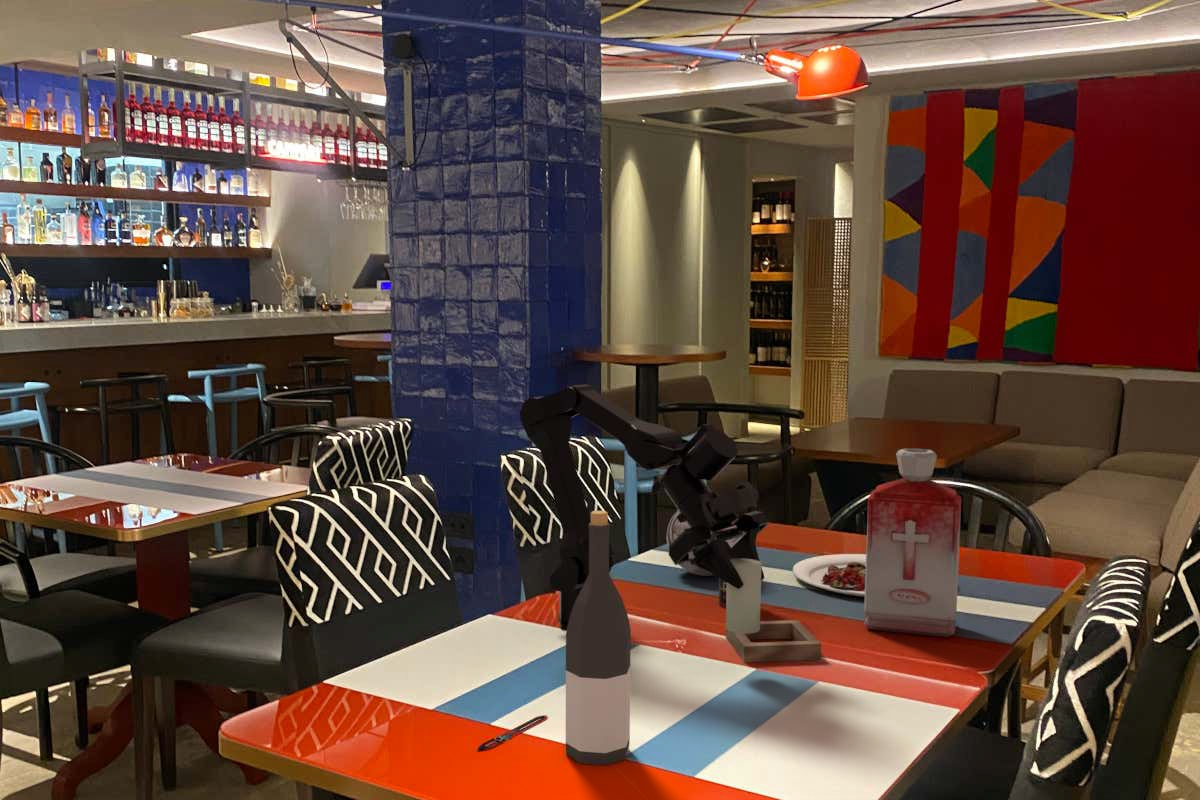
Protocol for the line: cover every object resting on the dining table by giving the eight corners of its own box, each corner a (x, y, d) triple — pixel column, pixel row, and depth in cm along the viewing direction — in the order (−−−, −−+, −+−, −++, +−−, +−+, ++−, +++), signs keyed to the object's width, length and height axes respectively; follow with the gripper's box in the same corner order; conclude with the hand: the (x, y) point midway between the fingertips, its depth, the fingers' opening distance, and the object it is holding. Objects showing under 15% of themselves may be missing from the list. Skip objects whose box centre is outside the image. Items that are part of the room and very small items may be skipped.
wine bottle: (608, 771, 134) (610, 522, 131) (552, 755, 138) (552, 514, 135) (642, 747, 141) (645, 510, 138) (587, 733, 145) (589, 502, 142)
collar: (744, 662, 172) (744, 646, 172) (725, 637, 184) (726, 622, 184) (820, 659, 174) (820, 643, 174) (797, 634, 186) (798, 620, 186)
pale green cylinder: (734, 634, 165) (735, 567, 164) (720, 624, 170) (721, 559, 169) (765, 631, 167) (767, 565, 166) (751, 621, 172) (752, 557, 170)
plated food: (970, 576, 224) (971, 560, 224) (925, 614, 199) (926, 595, 198) (826, 555, 240) (826, 540, 240) (767, 588, 215) (767, 570, 214)
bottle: (956, 623, 193) (963, 448, 189) (954, 641, 183) (961, 457, 180) (869, 614, 197) (874, 443, 194) (862, 631, 188) (868, 452, 184)
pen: (552, 719, 151) (552, 714, 151) (483, 755, 139) (483, 750, 139) (540, 716, 152) (540, 711, 152) (471, 751, 140) (471, 746, 140)
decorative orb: (654, 576, 221) (655, 501, 220) (688, 561, 233) (689, 489, 232) (723, 588, 213) (724, 509, 212) (754, 571, 226) (756, 497, 224)
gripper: (685, 474, 162) (747, 564, 155) (760, 459, 175) (820, 541, 169) (642, 520, 168) (700, 608, 162) (718, 502, 181) (774, 582, 175)
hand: (751, 583), depth 167 cm, fingers closed on pale green cylinder, 5 cm apart
